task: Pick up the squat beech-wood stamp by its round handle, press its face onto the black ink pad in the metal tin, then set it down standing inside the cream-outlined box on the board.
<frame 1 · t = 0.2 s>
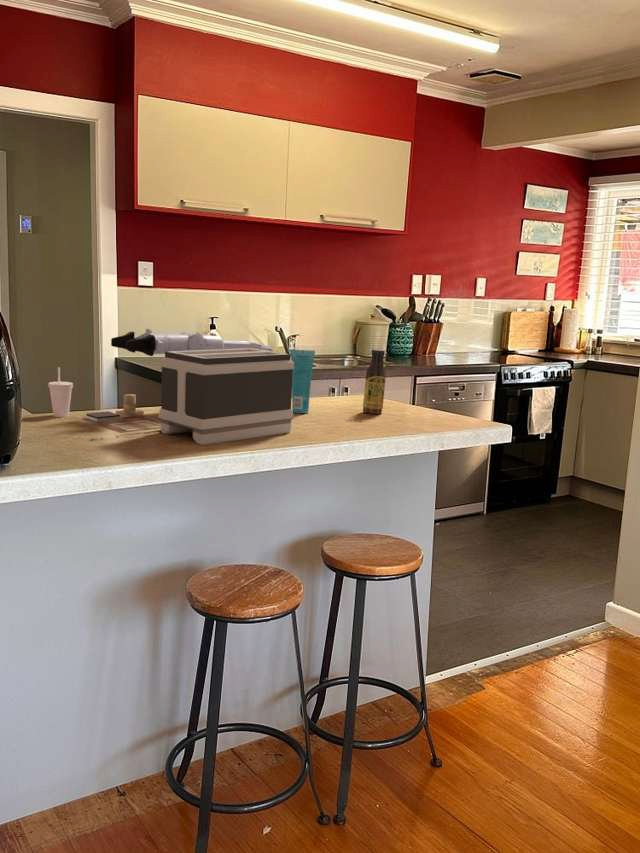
hand: (119, 343, 207), 21 cm above the table, tool horizontal, fingers open, 7 cm apart
sauce bottle: (372, 413, 245), on the table
stamp: (129, 416, 215), point 1 cm above the table, touching board
smoothie: (61, 419, 212), on the table
toaster: (232, 433, 206), on the table
tube: (299, 413, 239), on the table
ink pad: (103, 419, 210), resting on board
board: (128, 424, 208), on the table
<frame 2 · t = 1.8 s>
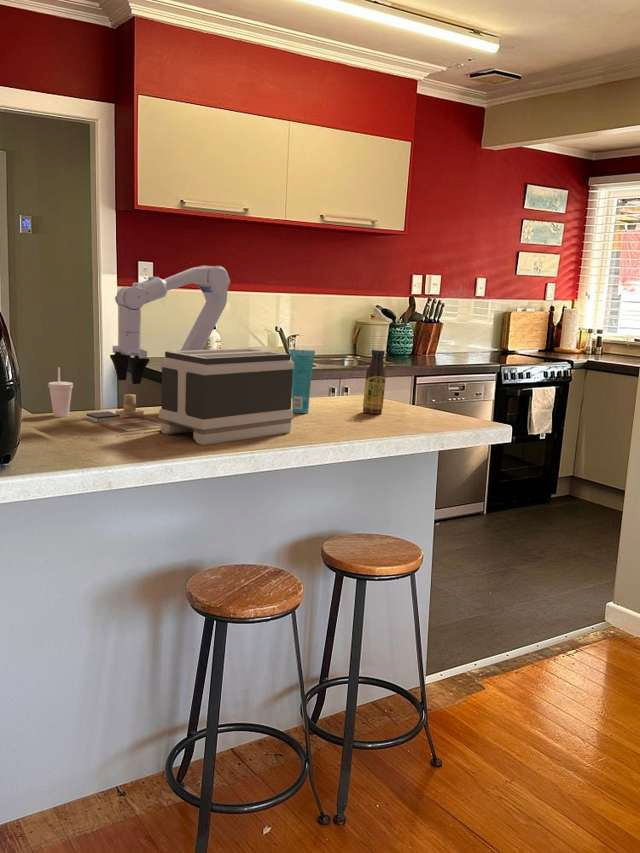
hand: (129, 382, 213), 10 cm above the table, tool pointing down, fingers open, 7 cm apart
nothing on the table moved.
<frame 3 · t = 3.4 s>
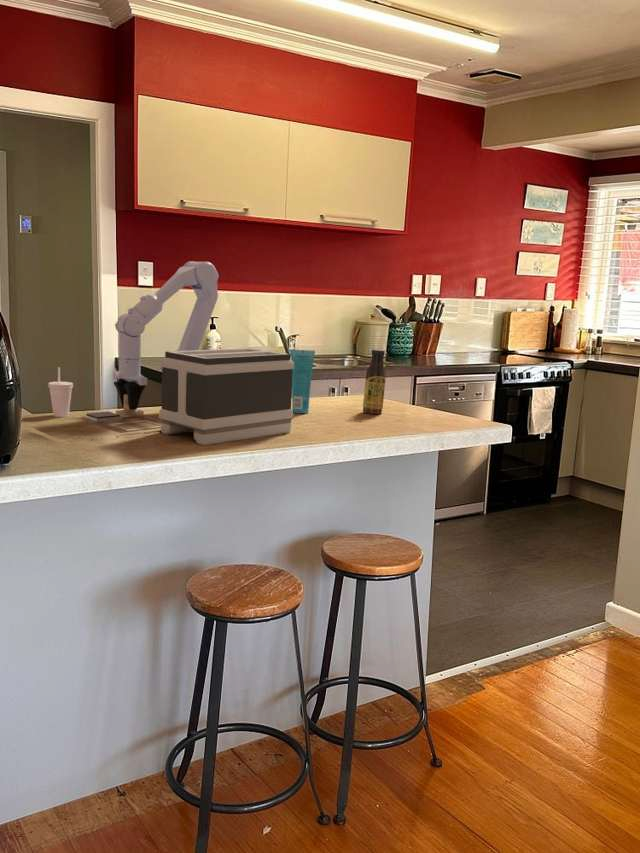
hand: (129, 408, 215), 3 cm above the table, tool pointing down, fingers closed on stamp, 3 cm apart
stamp: (129, 416, 215), point 1 cm above the table, touching board, gripper
everything else where it was.
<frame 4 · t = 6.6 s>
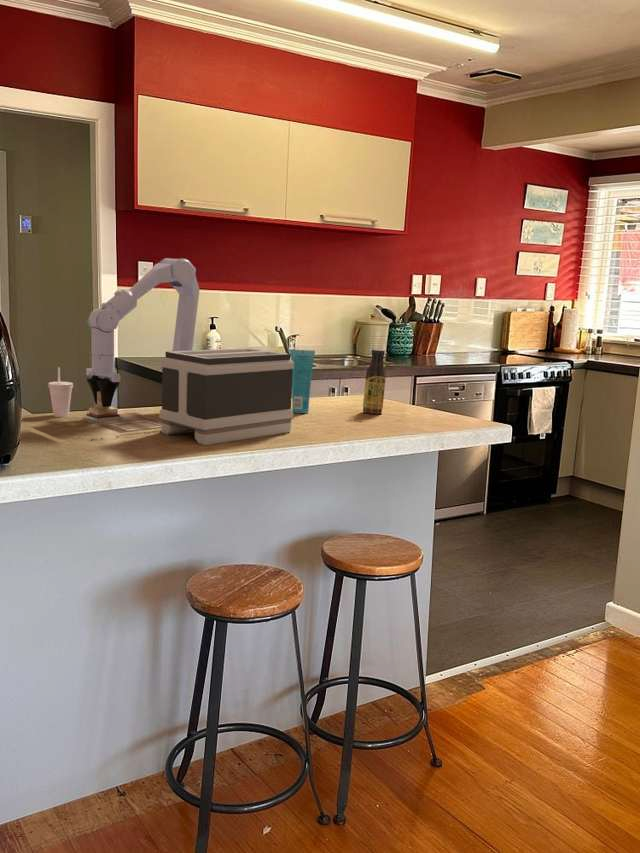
hand: (103, 405, 209), 5 cm above the table, tool pointing down, fingers closed on stamp, 3 cm apart
stamp: (103, 414, 209), point 2 cm above the table, touching gripper, ink pad
everything else where it was.
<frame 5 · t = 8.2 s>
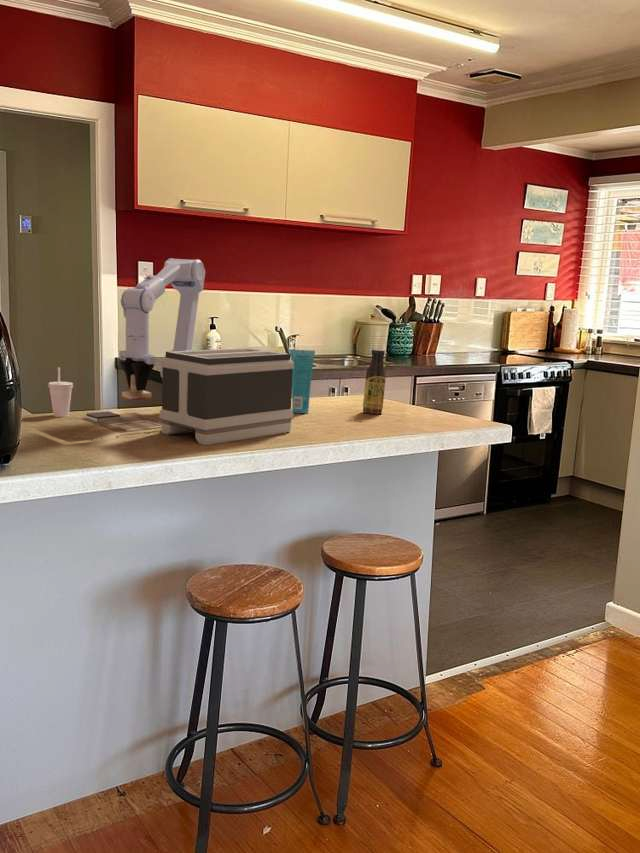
hand: (137, 389, 202), 10 cm above the table, tool pointing down, fingers closed on stamp, 3 cm apart
stamp: (136, 398, 202), point 8 cm above the table, touching gripper
everything else where it was.
when the fingers open (3 cm above the table, at t = 9.8 s): stamp stays where it is, resting on board.
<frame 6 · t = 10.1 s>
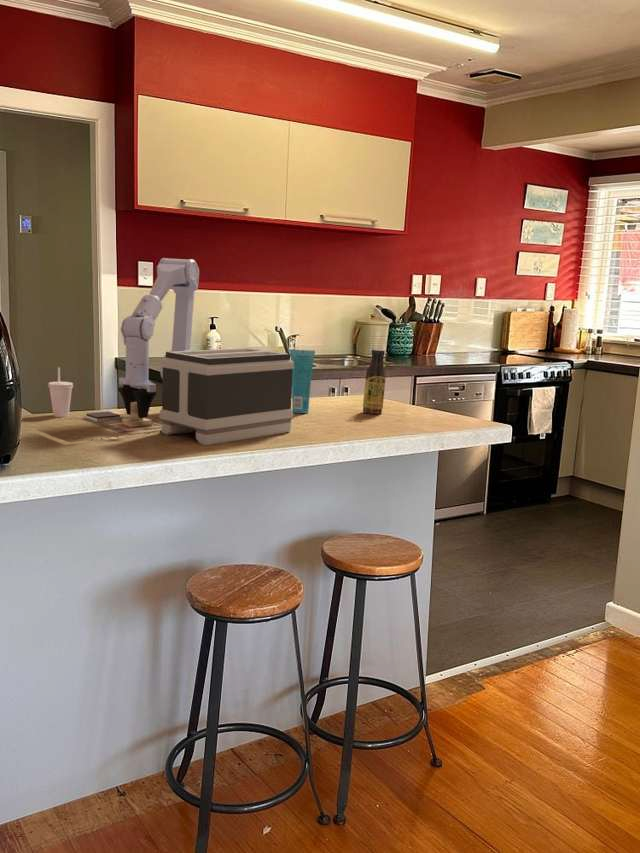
hand: (136, 415, 203), 3 cm above the table, tool pointing down, fingers open, 5 cm apart
stamp: (136, 425, 203), point 1 cm above the table, touching board
everything else where it was.
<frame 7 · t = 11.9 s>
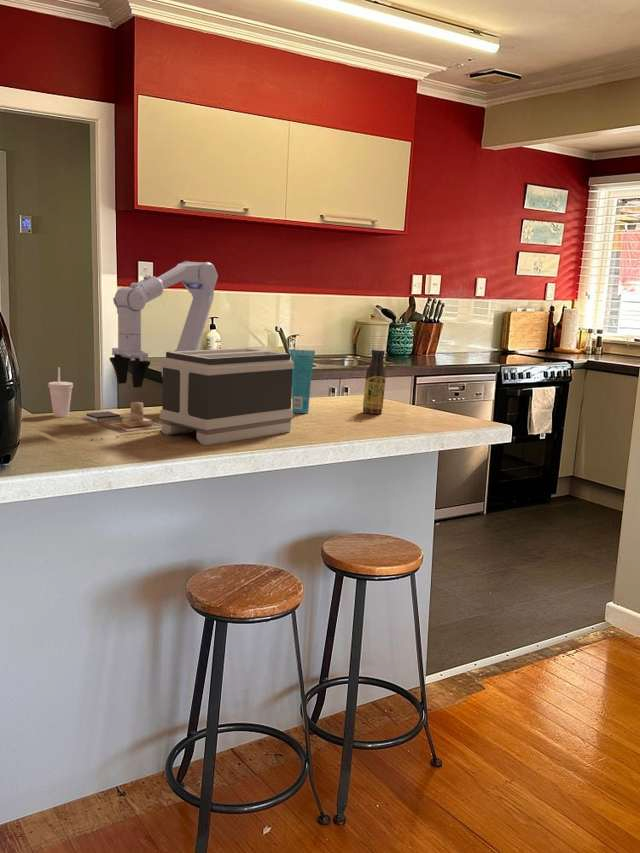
hand: (129, 385, 208), 10 cm above the table, tool pointing down, fingers open, 7 cm apart
nothing on the table moved.
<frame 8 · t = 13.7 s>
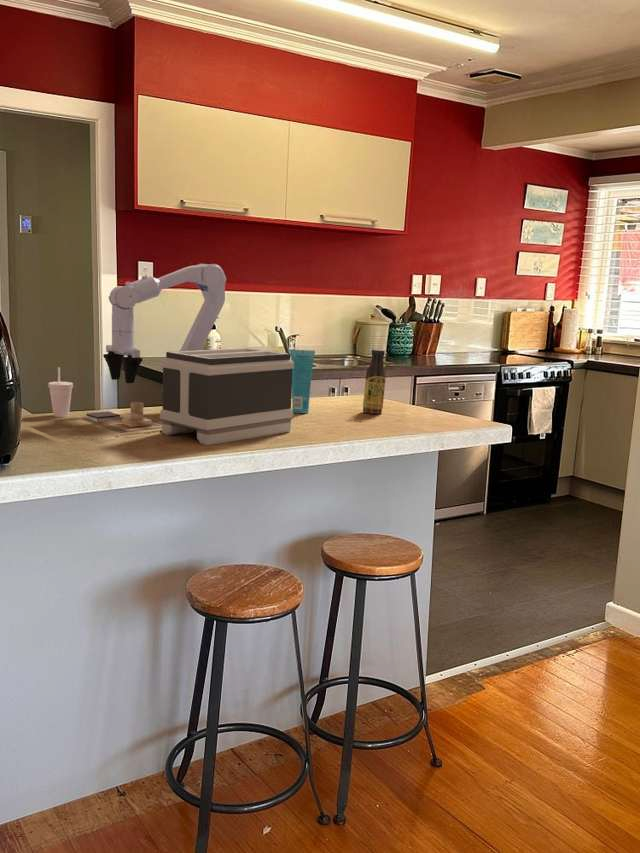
hand: (122, 381, 214), 10 cm above the table, tool pointing down, fingers open, 7 cm apart
nothing on the table moved.
at the end: stamp 0.1 cm from the target spot on the board, point 0.8 cm above the board's base; stamp tilted 0°; the gripper is holding nothing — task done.
